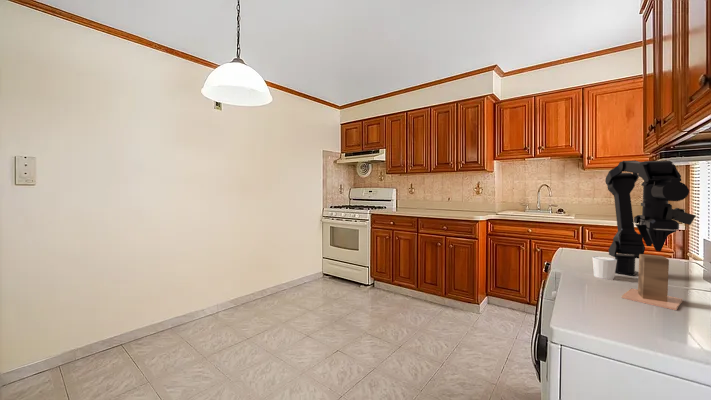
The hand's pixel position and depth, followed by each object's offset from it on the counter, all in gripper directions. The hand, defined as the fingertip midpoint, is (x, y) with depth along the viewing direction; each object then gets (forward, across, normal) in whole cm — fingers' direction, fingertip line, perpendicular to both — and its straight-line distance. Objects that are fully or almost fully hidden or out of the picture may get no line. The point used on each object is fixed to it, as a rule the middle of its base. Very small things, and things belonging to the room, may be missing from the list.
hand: (653, 248), depth 94 cm
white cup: (+13, +8, +11) cm, 19 cm away
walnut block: (+12, -13, +3) cm, 18 cm away
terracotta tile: (+13, -13, +3) cm, 18 cm away
